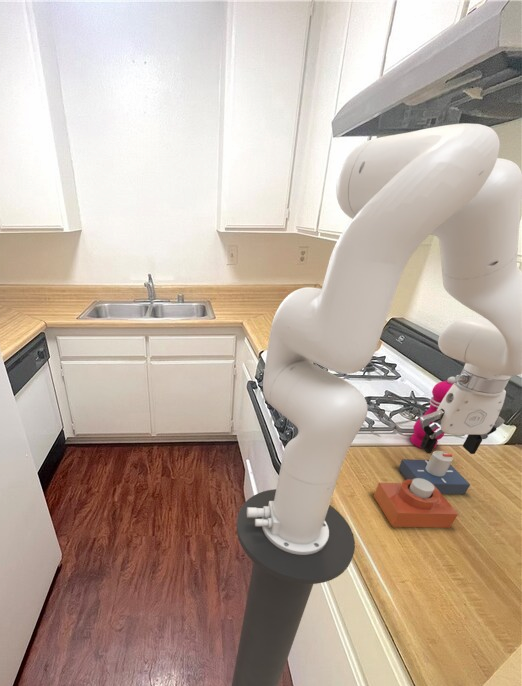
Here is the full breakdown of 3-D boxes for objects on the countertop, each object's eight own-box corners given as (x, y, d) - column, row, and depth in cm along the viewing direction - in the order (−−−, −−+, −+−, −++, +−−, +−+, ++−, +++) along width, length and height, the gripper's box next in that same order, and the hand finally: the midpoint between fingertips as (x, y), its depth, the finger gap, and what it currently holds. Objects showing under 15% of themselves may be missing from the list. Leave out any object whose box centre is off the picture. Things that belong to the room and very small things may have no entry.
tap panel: (417, 493, 79) (422, 483, 77) (398, 468, 86) (402, 458, 85) (464, 494, 79) (471, 484, 77) (441, 469, 87) (446, 459, 85)
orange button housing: (392, 526, 70) (402, 505, 67) (373, 495, 78) (381, 475, 75) (450, 527, 71) (463, 506, 67) (426, 496, 78) (436, 476, 75)
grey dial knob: (431, 476, 79) (439, 460, 77) (421, 465, 83) (429, 449, 80) (448, 476, 79) (457, 460, 77) (438, 465, 83) (446, 449, 80)
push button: (415, 498, 70) (418, 491, 68) (405, 485, 73) (408, 477, 72) (434, 498, 70) (438, 491, 68) (423, 485, 73) (427, 478, 72)
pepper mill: (431, 437, 99) (462, 372, 88) (441, 452, 93) (476, 384, 82) (404, 434, 100) (431, 369, 89) (413, 449, 94) (443, 381, 83)
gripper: (450, 389, 65) (417, 460, 75) (541, 389, 65) (496, 460, 75) (427, 372, 71) (400, 440, 81) (511, 373, 72) (473, 441, 81)
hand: (446, 450), depth 78 cm, fingers open, 9 cm apart
